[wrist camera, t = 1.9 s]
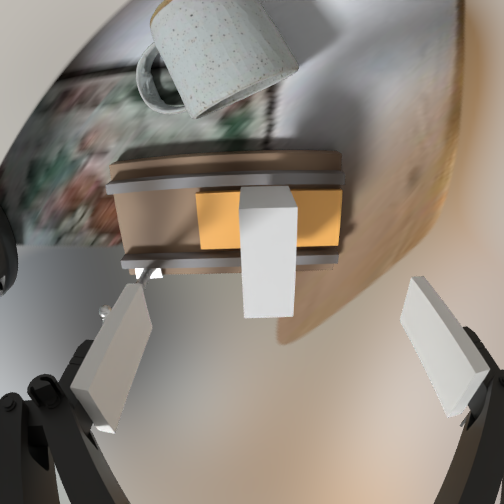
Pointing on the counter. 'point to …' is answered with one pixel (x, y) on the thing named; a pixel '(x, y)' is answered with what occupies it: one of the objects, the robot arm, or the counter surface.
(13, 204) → the counter surface
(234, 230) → the white block on base
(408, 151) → the counter surface
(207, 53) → the ceramic mug
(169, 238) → the brown piece
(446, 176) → the counter surface
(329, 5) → the counter surface
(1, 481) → the robot arm
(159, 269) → the keeper hook
